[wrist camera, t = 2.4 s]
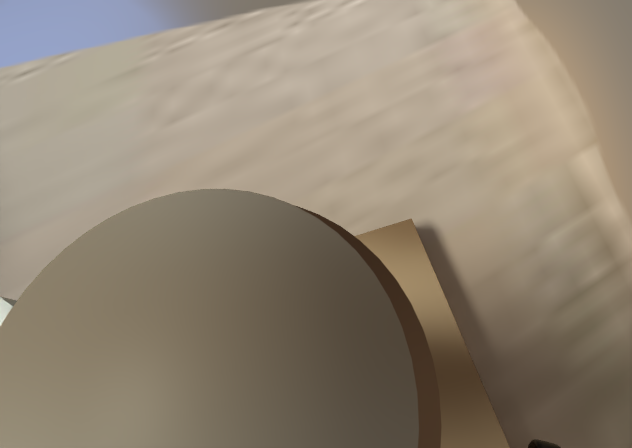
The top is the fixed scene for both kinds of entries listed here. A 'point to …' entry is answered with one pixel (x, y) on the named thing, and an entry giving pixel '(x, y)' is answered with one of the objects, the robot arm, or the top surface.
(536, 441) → the robot arm
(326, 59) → the top surface
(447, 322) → the trivet
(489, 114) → the top surface
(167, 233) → the pepper mill
